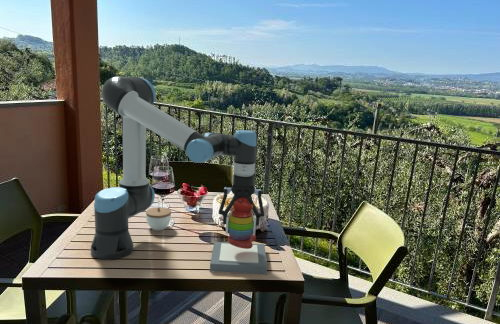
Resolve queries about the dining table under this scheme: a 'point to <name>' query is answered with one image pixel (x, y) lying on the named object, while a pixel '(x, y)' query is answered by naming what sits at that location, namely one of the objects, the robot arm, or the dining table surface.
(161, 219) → the lidded jar
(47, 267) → the dining table surface
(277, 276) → the dining table surface
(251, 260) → the slate plinth
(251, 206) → the stacking bear
